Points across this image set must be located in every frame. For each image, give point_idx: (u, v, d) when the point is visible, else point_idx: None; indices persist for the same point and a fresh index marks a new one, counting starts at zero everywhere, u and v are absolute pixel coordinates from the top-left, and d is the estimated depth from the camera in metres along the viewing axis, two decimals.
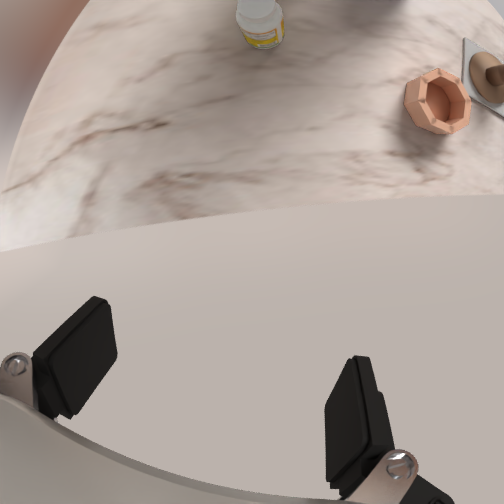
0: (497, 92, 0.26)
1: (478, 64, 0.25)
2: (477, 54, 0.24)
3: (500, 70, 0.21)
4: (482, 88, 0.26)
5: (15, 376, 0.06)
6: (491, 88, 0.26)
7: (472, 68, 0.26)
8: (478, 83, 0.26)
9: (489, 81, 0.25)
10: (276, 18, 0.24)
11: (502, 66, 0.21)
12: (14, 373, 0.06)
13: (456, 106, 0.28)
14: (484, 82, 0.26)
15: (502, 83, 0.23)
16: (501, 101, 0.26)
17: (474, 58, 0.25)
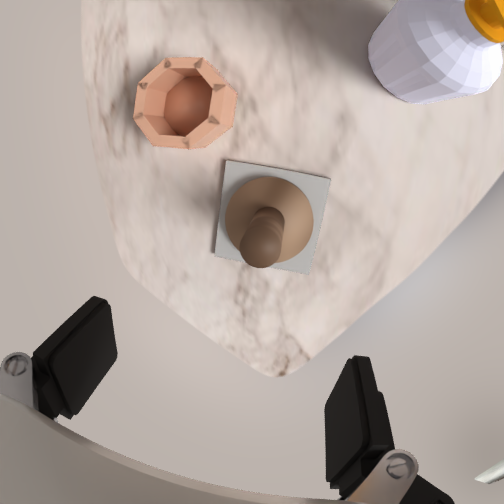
0: (244, 230, 0.28)
1: (281, 193, 0.26)
2: (300, 194, 0.26)
3: (264, 218, 0.23)
4: (239, 196, 0.27)
5: (15, 376, 0.06)
6: (246, 217, 0.28)
7: (269, 178, 0.26)
8: (246, 187, 0.27)
9: (256, 212, 0.27)
10: None
11: (271, 221, 0.23)
12: (14, 373, 0.06)
13: None
14: (252, 202, 0.27)
15: None
16: (232, 238, 0.29)
17: (290, 185, 0.26)
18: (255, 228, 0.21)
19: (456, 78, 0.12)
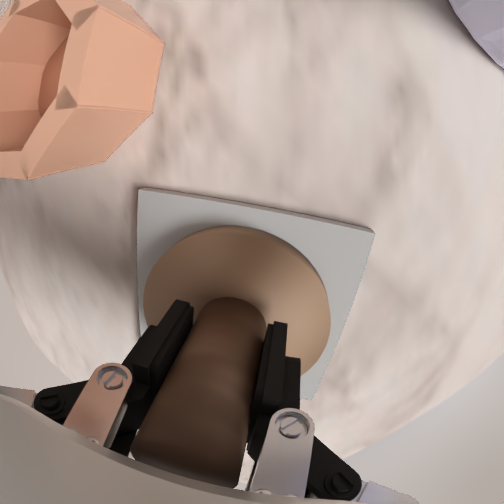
0: None
1: (258, 269, 0.11)
2: (305, 272, 0.11)
3: (202, 365, 0.08)
4: (166, 272, 0.12)
5: (105, 388, 0.07)
6: None
7: (229, 235, 0.11)
8: (177, 254, 0.11)
9: (202, 309, 0.12)
10: None
11: (219, 382, 0.08)
12: (106, 385, 0.07)
13: None
14: (194, 286, 0.12)
15: None
16: None
17: (280, 252, 0.11)
18: (160, 431, 0.06)
19: None
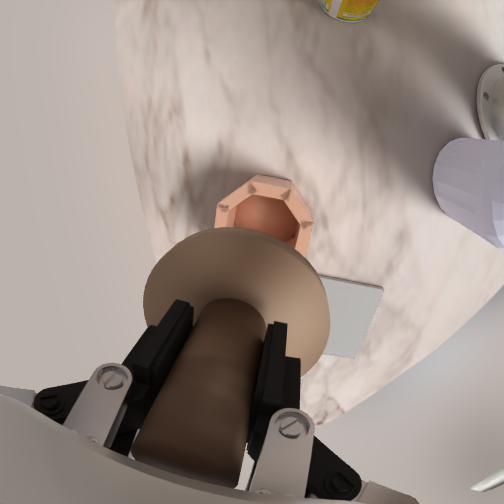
0: None
1: (258, 270, 0.11)
2: (304, 274, 0.11)
3: (202, 367, 0.08)
4: (166, 274, 0.12)
5: (106, 388, 0.07)
6: None
7: (229, 236, 0.11)
8: (177, 255, 0.11)
9: (202, 310, 0.12)
10: None
11: (219, 384, 0.08)
12: (106, 385, 0.07)
13: None
14: (194, 288, 0.12)
15: None
16: None
17: (280, 254, 0.11)
18: (160, 432, 0.06)
19: None
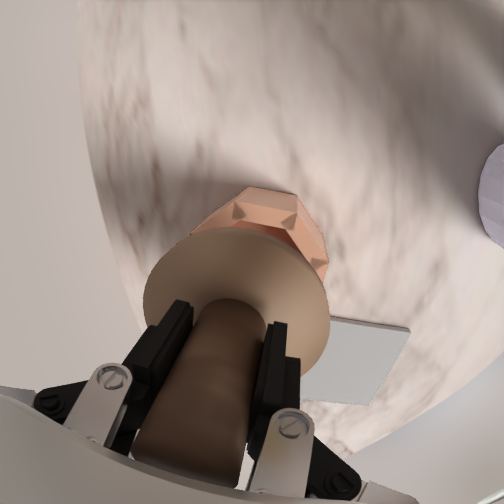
0: None
1: (258, 270, 0.11)
2: (304, 274, 0.11)
3: (202, 367, 0.08)
4: (166, 274, 0.12)
5: (105, 388, 0.07)
6: None
7: (229, 236, 0.11)
8: (177, 256, 0.11)
9: (201, 310, 0.12)
10: None
11: (218, 384, 0.08)
12: (106, 385, 0.07)
13: None
14: (194, 288, 0.12)
15: None
16: None
17: (279, 254, 0.11)
18: (159, 433, 0.06)
19: None
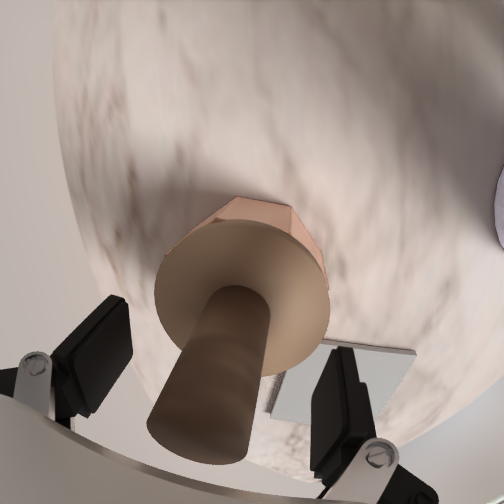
0: (192, 324, 0.14)
1: (263, 259, 0.12)
2: (306, 262, 0.12)
3: (214, 344, 0.09)
4: (177, 263, 0.13)
5: (33, 375, 0.06)
6: (194, 302, 0.13)
7: (237, 227, 0.12)
8: (188, 245, 0.12)
9: (210, 296, 0.13)
10: None
11: (229, 359, 0.09)
12: (33, 372, 0.06)
13: None
14: (203, 275, 0.13)
15: None
16: (172, 335, 0.14)
17: (283, 243, 0.12)
18: (176, 401, 0.07)
19: None
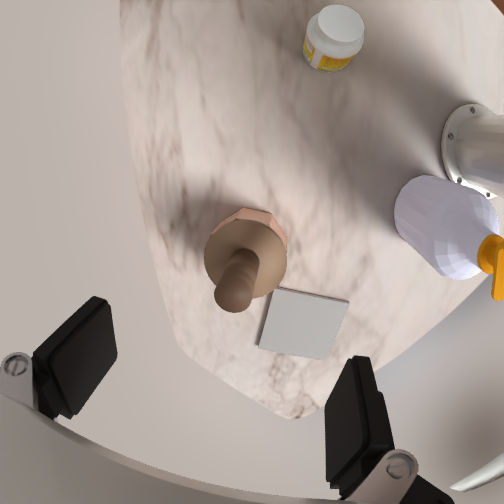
0: (222, 268, 0.30)
1: (257, 236, 0.28)
2: (275, 238, 0.28)
3: (238, 265, 0.25)
4: (218, 238, 0.29)
5: (15, 376, 0.06)
6: (224, 257, 0.30)
7: (246, 222, 0.28)
8: (224, 230, 0.29)
9: (232, 253, 0.29)
10: (326, 47, 0.20)
11: (244, 269, 0.25)
12: (14, 373, 0.06)
13: None
14: (229, 244, 0.29)
15: None
16: (210, 275, 0.31)
17: (265, 230, 0.28)
18: (228, 278, 0.23)
19: (453, 277, 0.23)
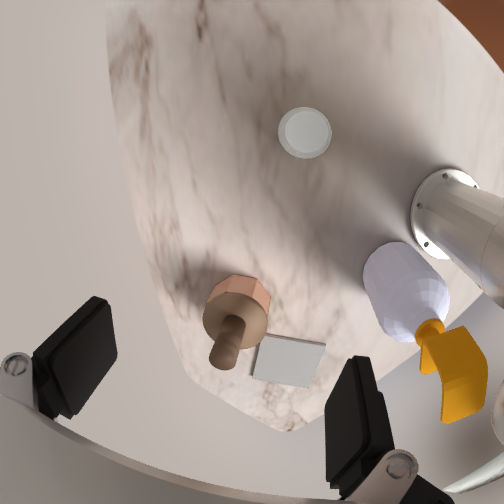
0: (217, 328, 0.37)
1: (242, 306, 0.36)
2: (257, 308, 0.35)
3: (226, 334, 0.32)
4: (212, 307, 0.36)
5: (15, 376, 0.06)
6: (218, 320, 0.37)
7: (233, 296, 0.35)
8: (216, 301, 0.36)
9: (224, 318, 0.36)
10: (294, 152, 0.27)
11: (231, 338, 0.32)
12: (14, 373, 0.06)
13: None
14: (221, 311, 0.36)
15: None
16: (208, 332, 0.38)
17: (249, 302, 0.35)
18: (218, 348, 0.30)
19: (402, 341, 0.29)
